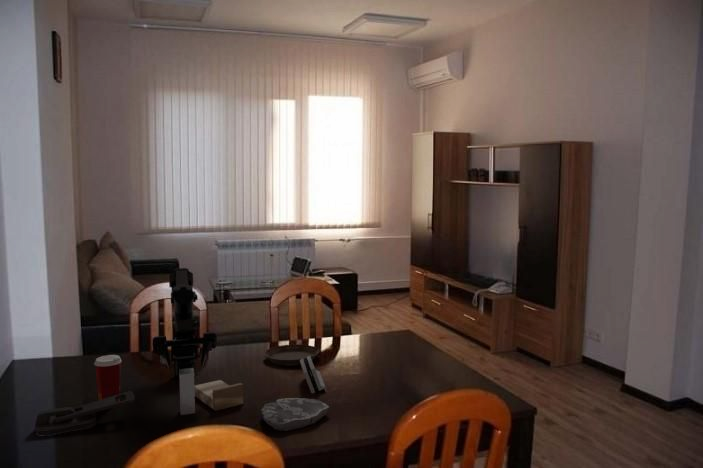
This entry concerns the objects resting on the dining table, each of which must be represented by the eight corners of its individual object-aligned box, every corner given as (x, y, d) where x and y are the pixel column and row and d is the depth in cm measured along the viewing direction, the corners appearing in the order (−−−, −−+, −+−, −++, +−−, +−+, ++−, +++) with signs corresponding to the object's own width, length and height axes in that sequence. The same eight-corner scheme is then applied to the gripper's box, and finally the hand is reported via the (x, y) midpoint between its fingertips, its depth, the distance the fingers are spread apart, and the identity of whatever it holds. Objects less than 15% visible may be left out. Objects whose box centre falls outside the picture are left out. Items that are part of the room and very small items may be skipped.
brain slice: (297, 402, 176) (297, 392, 176) (337, 417, 164) (337, 407, 164) (244, 421, 162) (244, 410, 162) (283, 439, 150) (283, 428, 150)
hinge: (327, 392, 183) (316, 364, 182) (313, 398, 183) (302, 369, 181) (321, 375, 200) (311, 349, 198) (308, 380, 199) (298, 354, 198)
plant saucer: (253, 360, 218) (253, 352, 217) (293, 348, 233) (292, 340, 233) (291, 372, 204) (291, 363, 204) (330, 358, 220) (330, 350, 220)
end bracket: (180, 411, 168) (179, 369, 167) (194, 409, 170) (193, 367, 169) (180, 417, 164) (179, 374, 163) (195, 415, 165) (194, 373, 164)
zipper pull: (135, 399, 160) (32, 414, 150) (136, 422, 161) (34, 439, 150) (133, 389, 168) (35, 402, 158) (133, 411, 169) (36, 426, 158)
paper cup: (128, 400, 177) (127, 355, 176) (110, 409, 170) (109, 363, 168) (108, 397, 179) (106, 353, 178) (89, 406, 172) (87, 360, 171)
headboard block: (193, 395, 181) (193, 376, 181) (220, 388, 187) (220, 370, 186) (215, 410, 169) (214, 390, 168) (243, 403, 174) (242, 384, 174)
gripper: (151, 310, 173) (151, 356, 163) (215, 306, 178) (219, 351, 169) (153, 330, 181) (153, 375, 171) (214, 325, 186) (217, 369, 177)
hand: (186, 367), depth 172 cm, fingers open, 9 cm apart
